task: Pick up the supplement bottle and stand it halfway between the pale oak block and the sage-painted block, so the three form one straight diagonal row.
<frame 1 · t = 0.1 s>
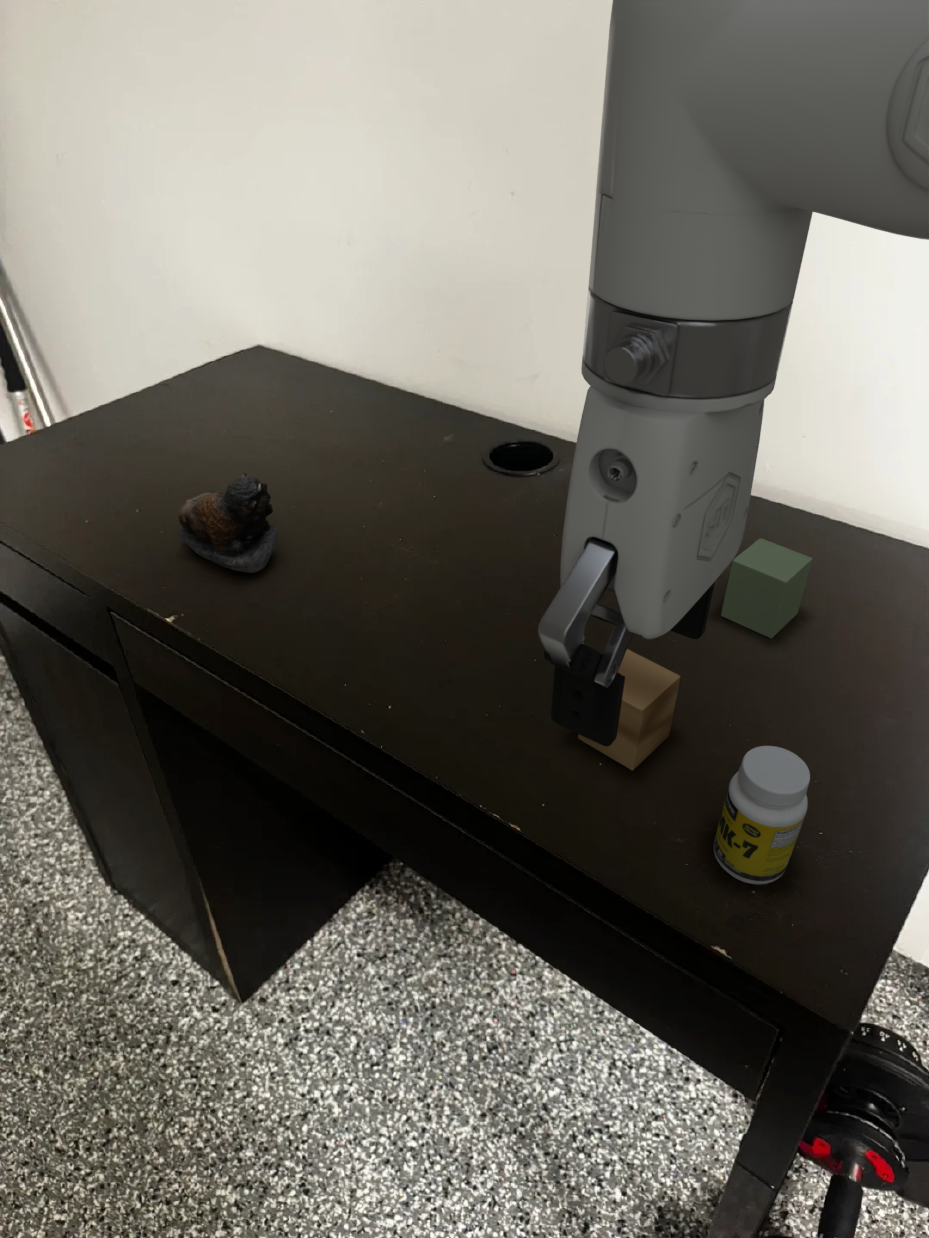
hand: (631, 676, 45), 19 cm above the table, tool pointing down, fingers open, 9 cm apart
toy building block: (677, 505, 96), on the table
sage block: (758, 615, 80), on the table
supplement bottle: (748, 858, 59), on the table
oak block: (623, 737, 68), on the table
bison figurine: (234, 558, 88), on the table
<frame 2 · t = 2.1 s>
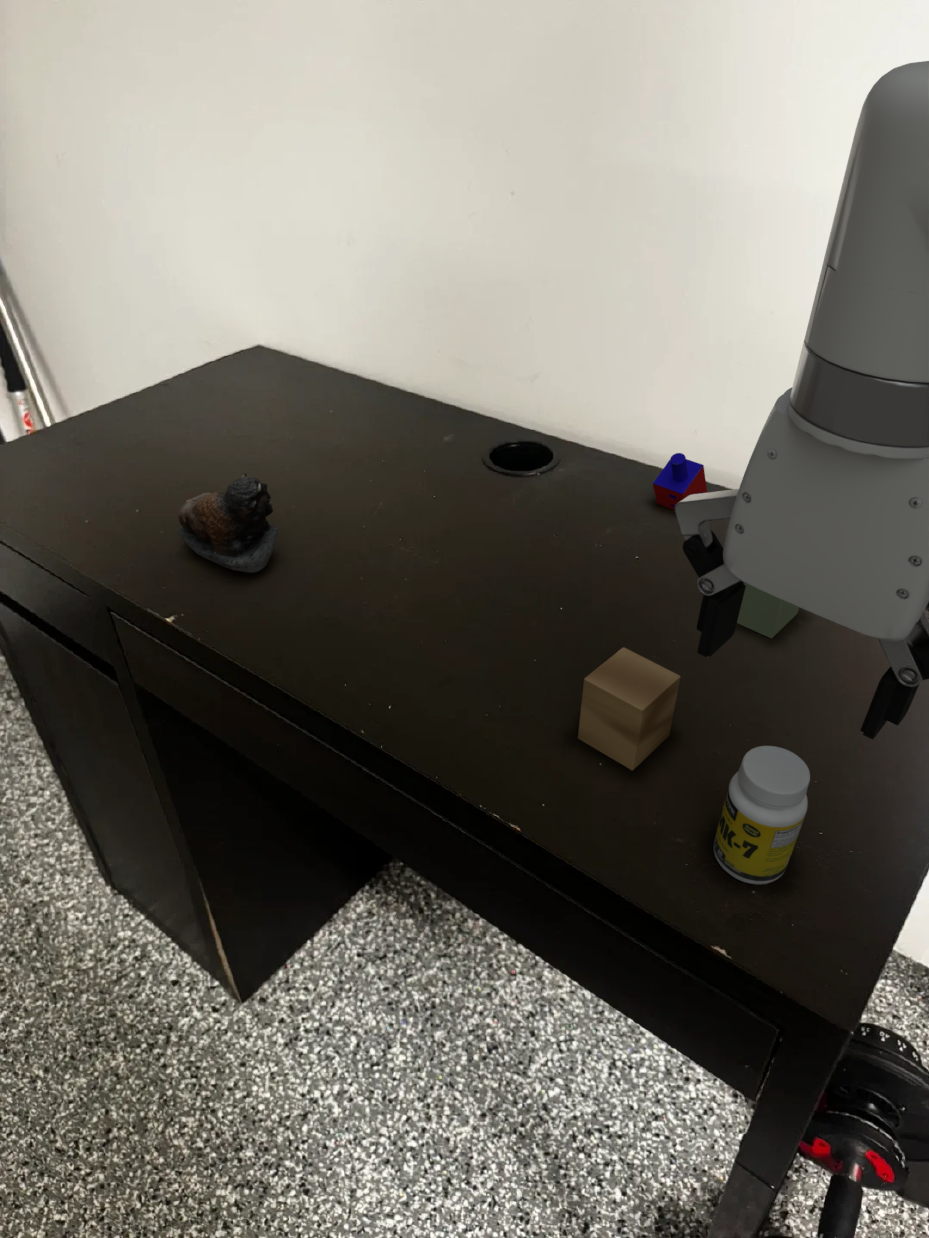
hand: (792, 682, 50), 15 cm above the table, tool pointing down, fingers open, 9 cm apart
nothing on the table moved.
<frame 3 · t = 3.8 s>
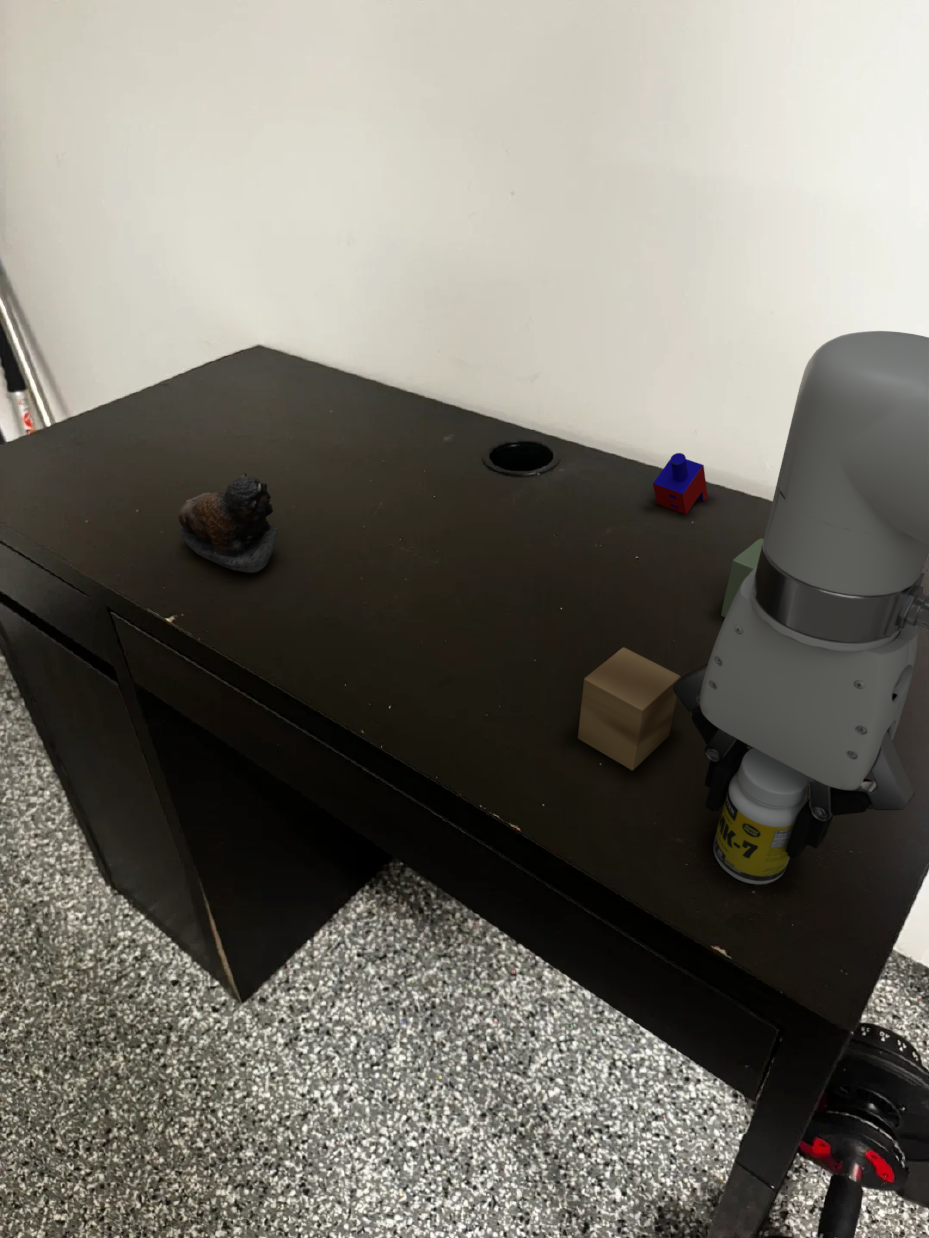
hand: (760, 818, 56), 4 cm above the table, tool pointing down, fingers closed on supplement bottle, 4 cm apart
supplement bottle: (748, 858, 59), on the table, touching gripper
everything else where it was.
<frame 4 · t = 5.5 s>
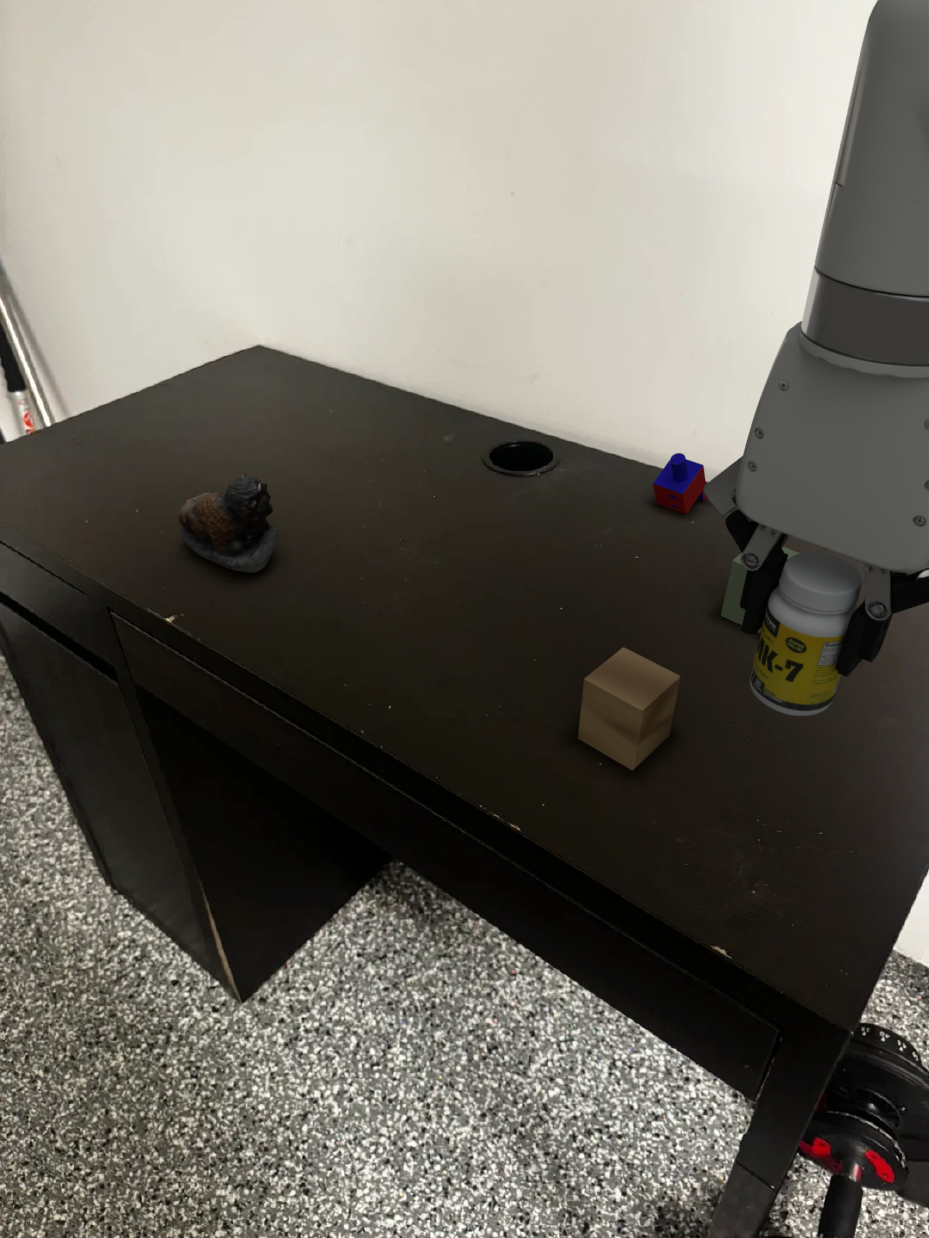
hand: (804, 639, 50), 17 cm above the table, tool pointing down, fingers closed on supplement bottle, 4 cm apart
supplement bottle: (789, 693, 52), point 13 cm above the table, touching gripper
everything else where it was.
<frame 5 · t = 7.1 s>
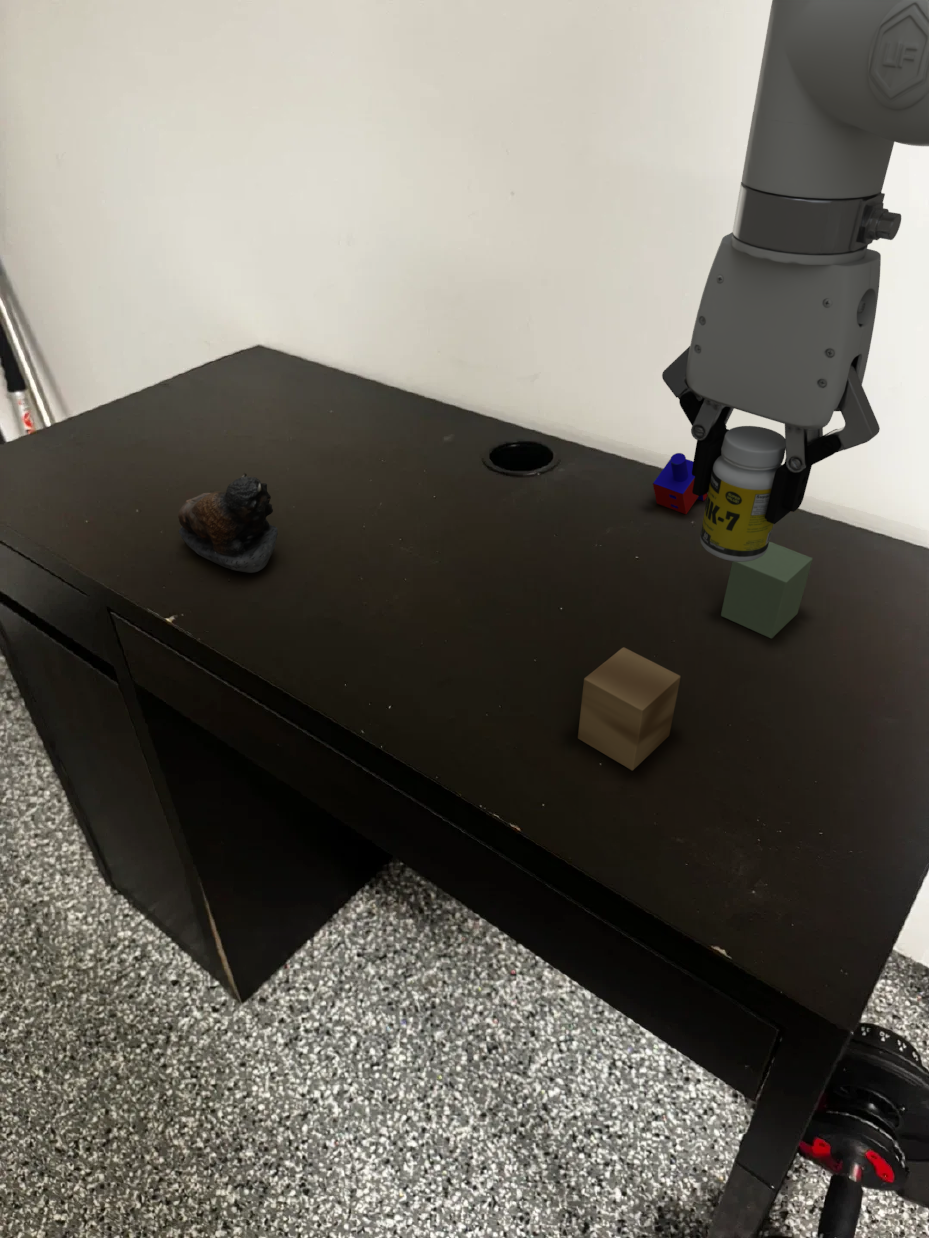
hand: (742, 499, 62), 17 cm above the table, tool pointing down, fingers closed on supplement bottle, 4 cm apart
supplement bottle: (732, 548, 64), point 14 cm above the table, touching gripper
everything else where it was.
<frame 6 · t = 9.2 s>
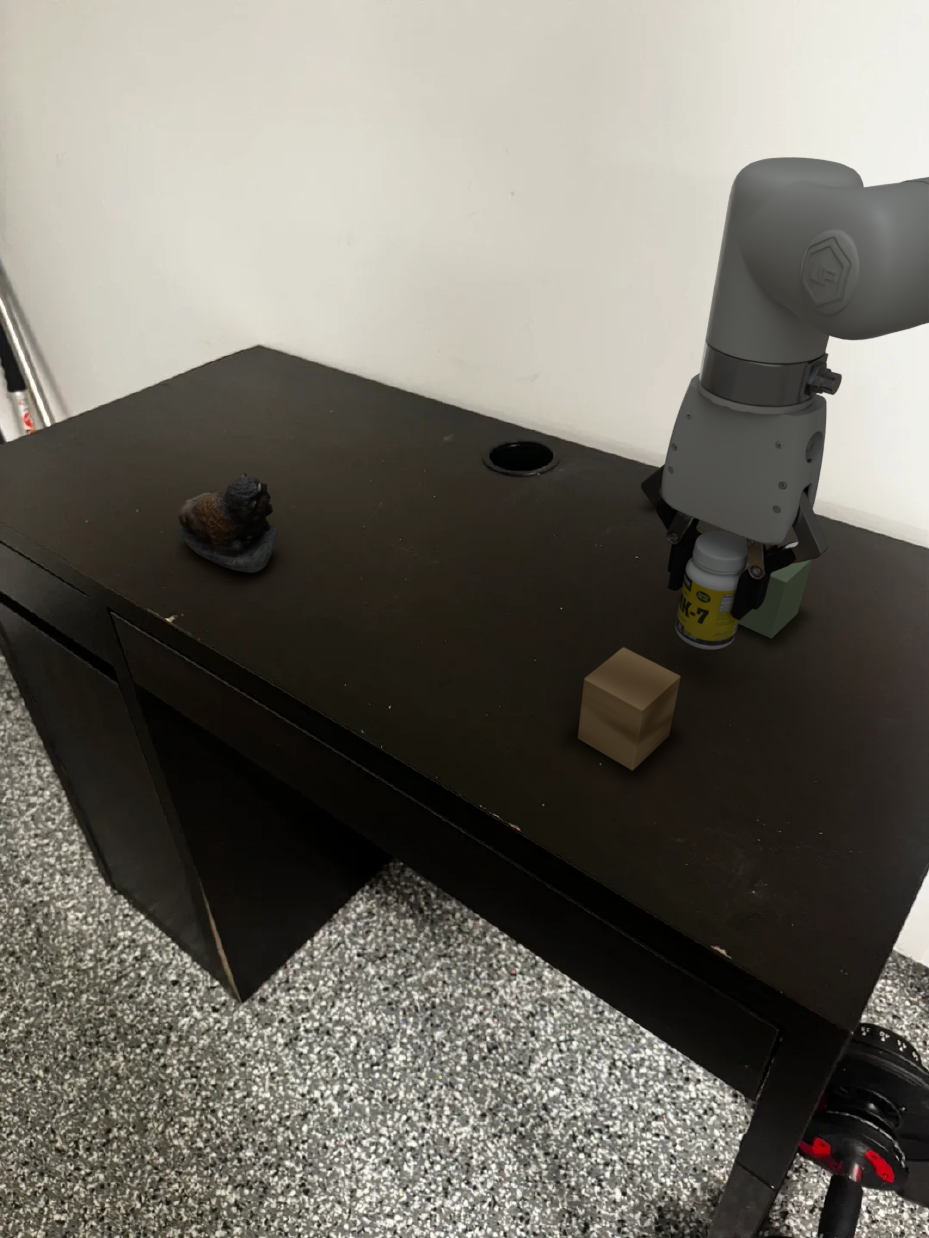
hand: (712, 594, 69), 8 cm above the table, tool pointing down, fingers closed on supplement bottle, 4 cm apart
supplement bottle: (704, 635, 72), point 4 cm above the table, touching gripper
everything else where it was.
when the fingers open (4 cm above the table, at t = 10.6 s): supplement bottle stays where it is, on the table.
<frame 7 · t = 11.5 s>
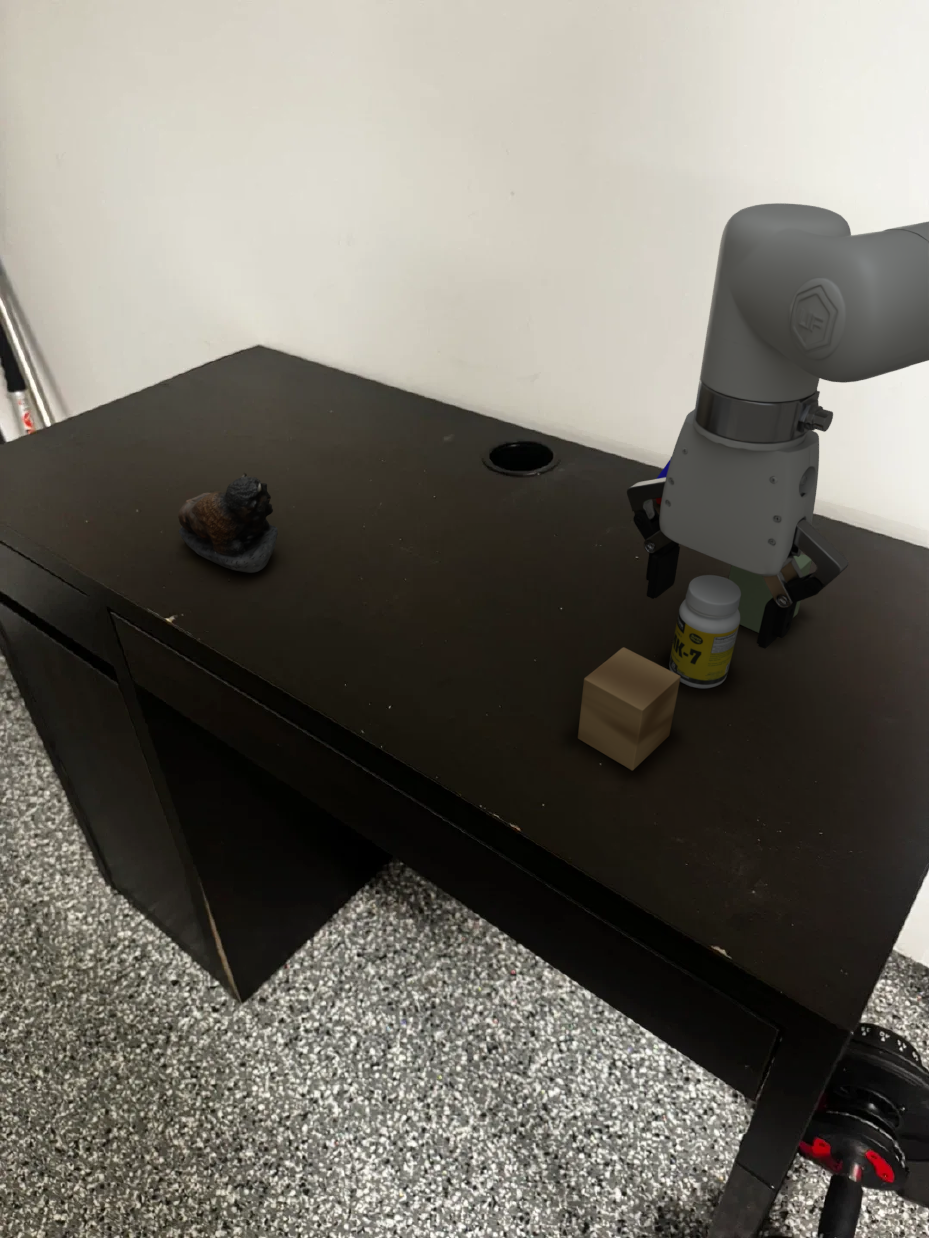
hand: (713, 614, 70), 6 cm above the table, tool pointing down, fingers open, 9 cm apart
supplement bottle: (697, 673, 74), on the table
everything else where it was.
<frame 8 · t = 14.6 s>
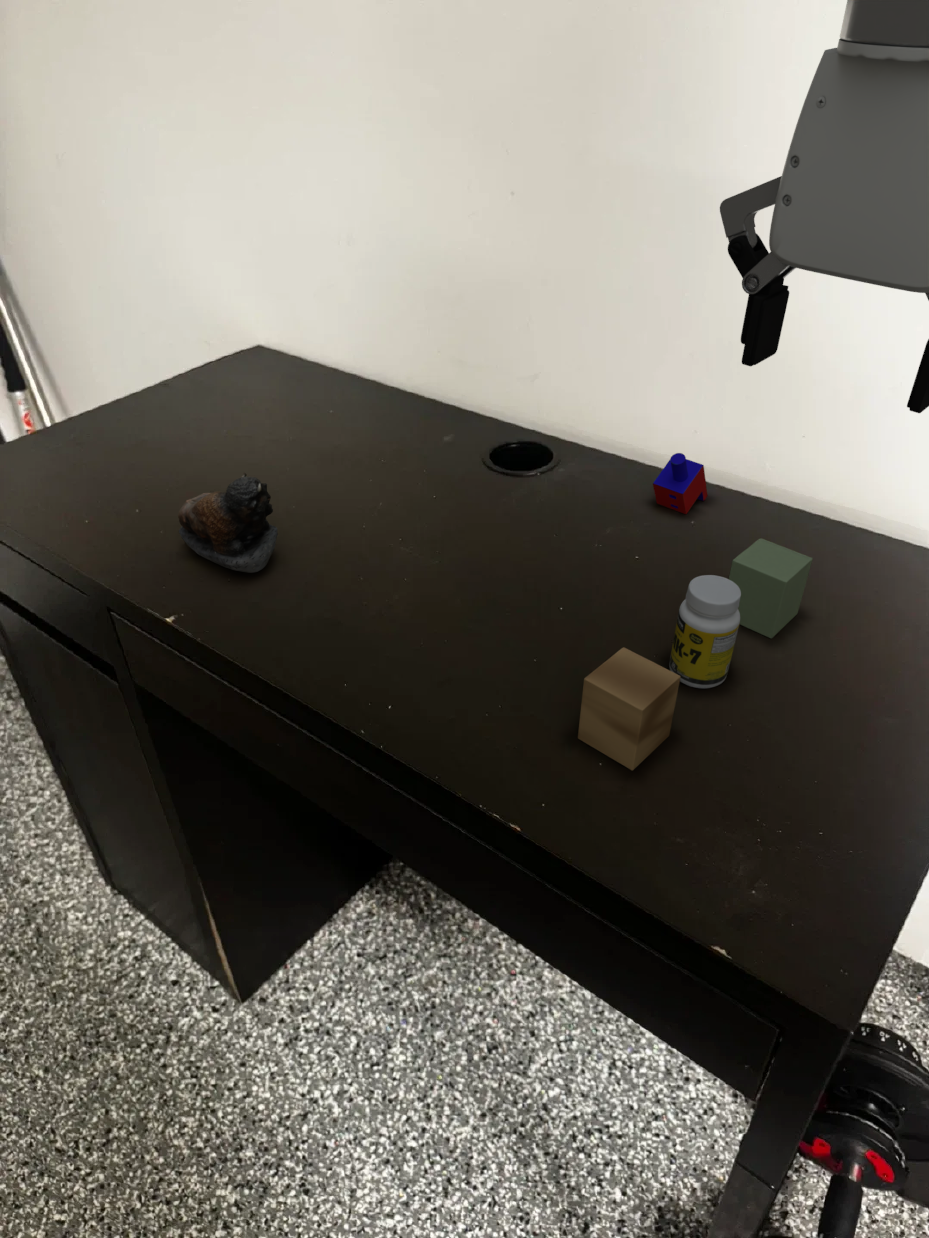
hand: (836, 381, 51), 28 cm above the table, tool pointing down, fingers open, 9 cm apart
nothing on the table moved.
at the end: supplement bottle 0.1 cm from the target spot on the table beside the sage block, on the table; supplement bottle 10.6 cm from the oak block (horizontally); supplement bottle tilted 0° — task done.
